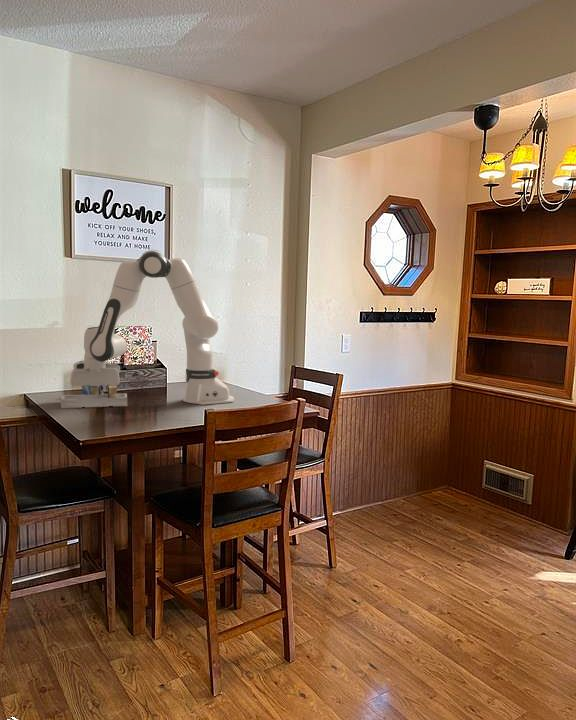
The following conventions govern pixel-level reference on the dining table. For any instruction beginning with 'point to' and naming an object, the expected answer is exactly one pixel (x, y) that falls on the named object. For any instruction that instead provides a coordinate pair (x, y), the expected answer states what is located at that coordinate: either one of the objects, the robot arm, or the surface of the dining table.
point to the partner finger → (112, 391)
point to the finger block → (95, 389)
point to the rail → (93, 400)
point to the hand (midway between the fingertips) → (95, 395)
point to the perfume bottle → (84, 391)
